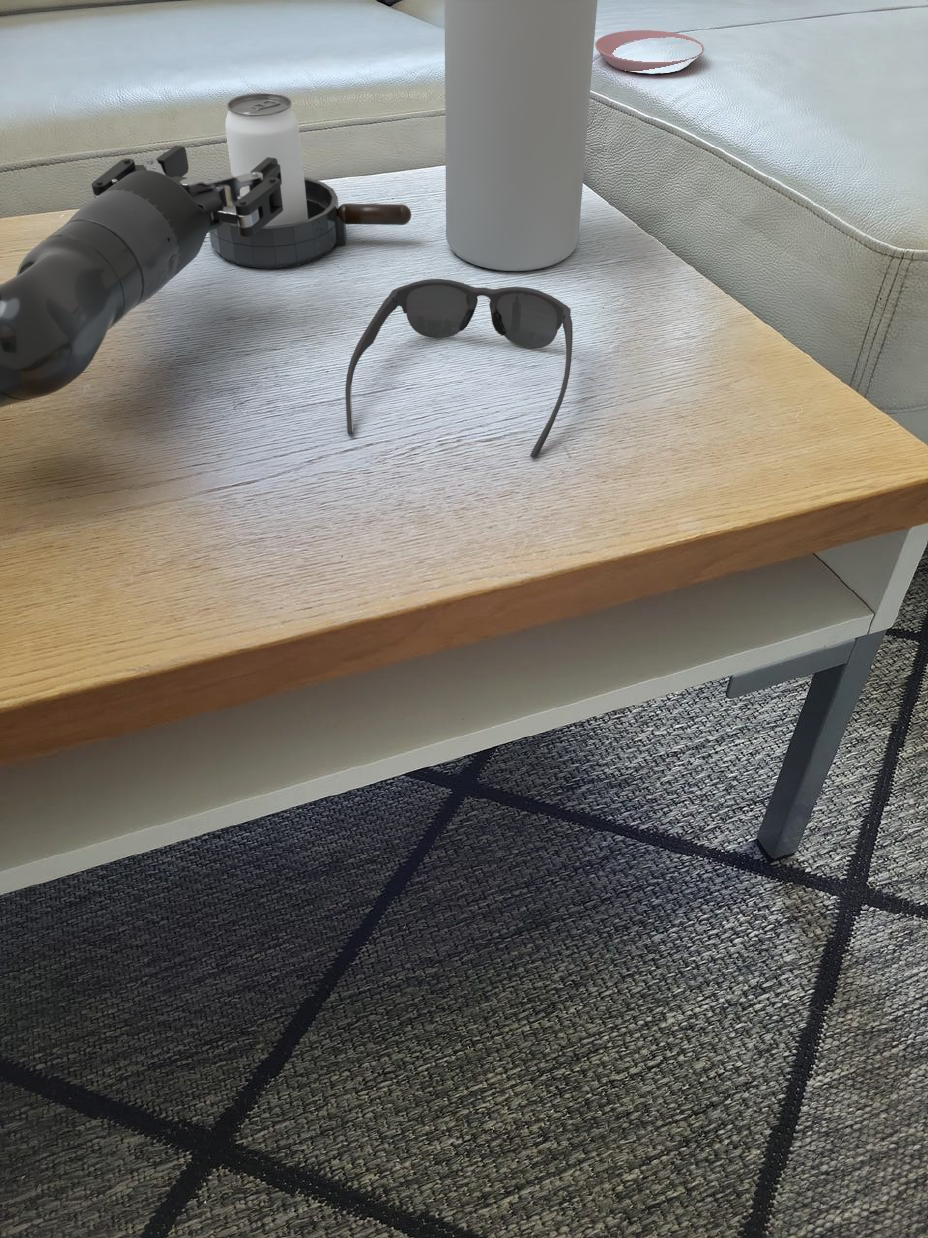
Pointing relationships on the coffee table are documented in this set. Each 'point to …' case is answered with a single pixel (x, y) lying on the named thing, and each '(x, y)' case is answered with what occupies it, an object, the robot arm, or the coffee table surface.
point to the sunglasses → (449, 311)
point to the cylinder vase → (516, 128)
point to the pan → (284, 234)
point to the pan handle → (370, 216)
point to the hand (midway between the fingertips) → (228, 163)
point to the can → (268, 147)
